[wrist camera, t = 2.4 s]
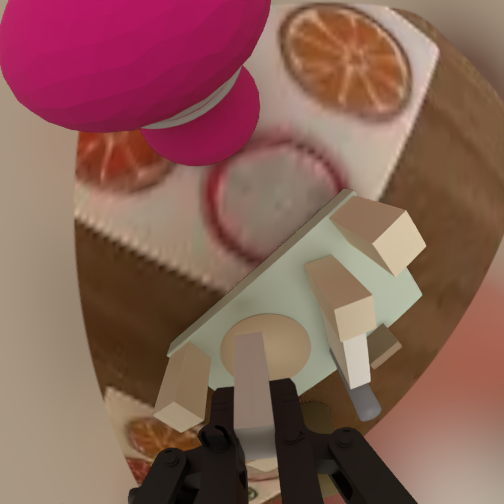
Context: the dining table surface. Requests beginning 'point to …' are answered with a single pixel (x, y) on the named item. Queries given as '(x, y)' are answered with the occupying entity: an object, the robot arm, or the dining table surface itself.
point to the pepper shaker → (321, 422)
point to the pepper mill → (139, 69)
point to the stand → (298, 311)
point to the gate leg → (344, 316)
